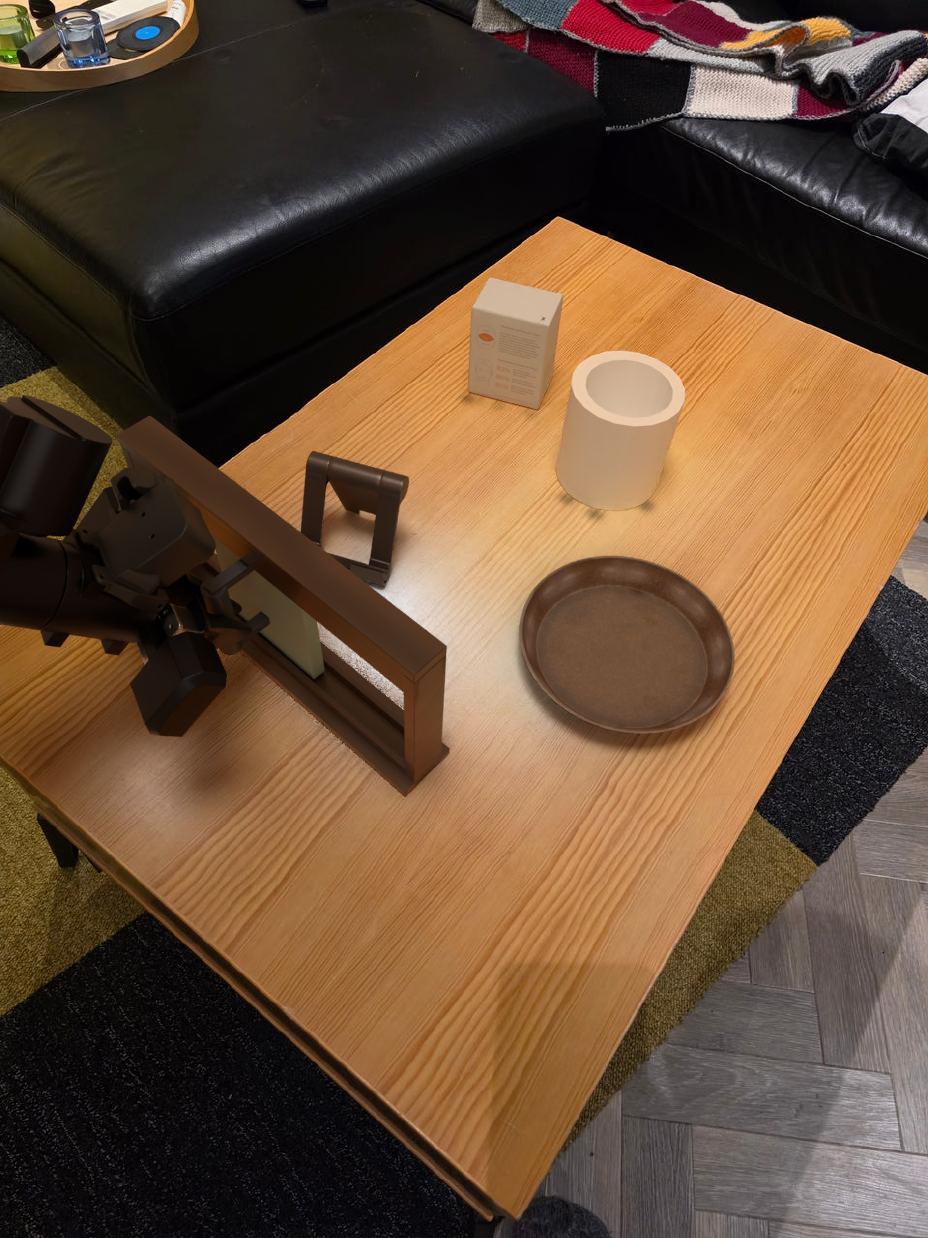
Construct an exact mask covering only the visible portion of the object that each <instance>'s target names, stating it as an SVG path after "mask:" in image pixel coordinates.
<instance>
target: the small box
mask: <svg viewBox="0 0 928 1238" xmlns="http://www.w3.org/2000/svg"><path fill="white" fill-rule="evenodd" d="M563 302H564V294H563V293H560V292H555V291H551V290H546V289H542V288H539V287H538V288H537V287H534V286H530V285H525V284H521V283H517V282H512V281H508V280H504V279H500V278H495V277H491V276H490V277H488V279H487V281H486V282H485V284H484V285H483V287H482V289H481V291H480V292H479V294H478V296H477V297H476V299H475V301H474V303H473V304H472V306H471V309H470V313H471V314H470V328H469V329H470V332H469V348H468V350H469V351H468V370H467V371H468V373H467V392H468V393H471V394H476V395H479V396H483V397H487V398H491V399H495V400H499V401H503V402H506V403H511V404H514V405H517V406H522V407H526V408H530V409H533V410H539V409H540V406H541V404H542V402H543V399H544V397H545V395H546V392H547V390H548V388H549V385H550V383H551V381H552V379H553V373H554V367H555V360H556V353H557V346H558V339H559V338H558V337H559V331H560V322H561V317H562V312H563V311H562V310H563V304H564V303H563Z"/></svg>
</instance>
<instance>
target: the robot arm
mask: <svg viewBox="0 0 928 1238" xmlns="http://www.w3.org/2000/svg"><path fill="white" fill-rule="evenodd" d="M113 442H114V440H113V438H112V437H111V436H110V435H109V434H108V433H107V431H105V430H103V429H102V428H100V427H99V426H98V425H96V424H94V423H93V422H90V421H89V420H87V419H85V418H83V417H81V416H80V415H78V414H76V413H74V412H72V411H69V410H68V409H65V408H64V407H60V406H59V405H56V404H53V403H51V402H48V401H45V400H43V399H40V398H37V397H35V396H31V395H27V394H22V396H21V397H20V396H8V397H7V399H6V401H2V400H0V626H7V627H14V628H20V629H29V630H34V631H39V632H40V635H41V638H42V641H43V644H44V645H43V646H45V647H53V648H61V647H62V646H63V645H64V643H65V642H66V640H67V639H68V638H69V637H70V636H74V637H81V638H88V639H95V640H100V642H101V645H102V648H103V651H104V654H106V655H111V656H120V655H121V654H122V653H123V652H124V650H125V649H126V648H127V647H128V646H129V644H130V643H133V644H134V643H135V644H136V647H137V650H138V653H139V654H140V656H141V660H142V663H143V666H142V667H141V669H140V670H139V671H138V672H137V674H136V675H135V676H134V677H133V679H132V680H131V681H130V682H129V685H130V688H131V691H132V693H133V697H134V699H135V702H136V704H137V706H138V707H137V708H138V709H139V712H140V715H141V718H142V721H143V723H144V725H145V728H146V729H147V732H148V733H149V735H152V736H153V735H154V736H158V737H173V738H182V737H183V736H184V735H185V734H186V733H187V732H188V731H189V729H190V728H192V726H193V725H194V724H195V723H196V722H197V721H198V720H199V718H200V717H201V716H202V715H203V714H204V713H205V711H206V710H207V709H208V708H209V707H210V706H211V705H212V703H213V702H214V701H215V700H216V699H217V698H218V696H219V695H220V694H221V693H222V692H223V691H224V690H225V689H226V686H227V680H228V672H227V670H226V668H225V666H224V663H223V661H222V659H221V656H220V655H219V653H218V649H219V648H221V647H224V646H227V645H230V644H232V643H235V642H238V641H241V640H243V639H245V638H247V637H248V635H249V634H250V633H251V632H252V628H251V626H250V625H247V624H245V623H242V622H239V621H236V620H233V619H229V618H225V617H222V616H218V615H214V614H211V613H208V612H207V609H206V606H205V603H204V600H203V597H202V594H201V591H200V587H201V584H202V583H203V582H204V581H203V580H201V579H200V578H198V577H197V576H195V575H194V574H192V573H191V572H190V570H191V569H193V568H194V567H195V566H197V565H199V564H203V563H205V562H206V561H207V560H209V559H210V558H211V556H212V555H213V553H215V552H216V550H215V548H216V543H215V540H214V538H213V536H212V535H211V534H210V532H209V530H208V528H207V526H206V524H205V522H204V520H203V518H202V513H201V511H200V510H199V509H198V508H197V507H196V506H195V505H193V504H192V503H191V502H190V501H188V500H187V499H186V498H185V497H183V496H182V495H181V494H180V493H179V491H178V489H177V487H176V484H175V483H174V480H173V479H172V478H171V477H164V478H162V477H161V476H160V475H157V476H155V475H154V474H153V473H150V472H146V471H142V470H137V469H132V468H128V467H125V468H123V469H122V470H120V471H119V472H117V473H116V474H115V475H113V476H112V477H111V478H110V480H109V481H110V486H107V487H104V488H103V489H102V490H101V492H100V494H99V495H98V496H97V498H96V499H95V501H94V502H93V503H92V505H91V506H90V507H89V509H88V511H87V512H86V513H85V515H84V517H83V518H82V519H81V520H80V522H79V523H78V525H77V522H78V520H79V518H80V516H81V513H82V511H83V508H84V507H85V504H86V502H87V500H88V498H89V496H90V493H91V491H92V489H93V487H94V484H95V482H96V480H97V478H98V476H99V473H100V471H101V469H102V468H103V464H104V462H105V461H106V458H107V455H108V453H109V451H110V449H111V447H112V445H113ZM76 525H77V526H76ZM75 526H76V528H75ZM53 537H56V538H53ZM57 537H60V538H61V537H63V538H62V539H58V538H57ZM230 599H231V598H230ZM231 603H232V606H233V610H234V613H235V617H237V616H238V614H239V613H240V612H241V611H242V607H241V605H240V604H238V603H237V602H235V601H234V600H232V599H231ZM219 650H220V649H219Z"/></svg>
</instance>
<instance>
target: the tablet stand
mask: <svg viewBox="0 0 928 1238" xmlns="http://www.w3.org/2000/svg"><path fill="white" fill-rule="evenodd" d="M304 471H305V472H304V482H303V483H304V484H303V496H302V508H301V520H300V521H301V522H300V532H301V533H302V534H303V535H305V536H306V537H307V538H308V539H310V540H311V541H312V542H314V543H315V544H316V545H317V546H319V547H320V548H321V549H322V547H321V546H322V537H323V536H322V535H323V526H324V517H325V516H324V515H325V505H326V504H325V503H326V495H327V487H328V484H329V485H331V488H332V490H333V492H334V493H335V495H336V497H337V498H338V500H339V501H340V503H341V505H342V507H343V509H344V510H345V511H347V512H350V513H354V514H357V515H360V513H361V512H364V513H368V514H371V515H374V516H375V517H374V525H373V533H372V542H371V549H370V555H369V560H368V563H364V562H362V561H358V560H355V559H352V558H347V557H344V556H341V555H336V554H333V553H331V552H327V553H328V554H329V555H330V556H332V557H333V558H334V559H336V560H337V561H338V562H339V563H341V564H342V565H343V566H345V567H346V568H347V569H348V570H350V571H351V572H352V573H354V574H355V575H356V576H357V577H359V578H360V579H361V580H363V581H364V582H368V583H371V584H374V585H379V586H380V587H381V586H382V587H385V586H386V585H387V583H388V581H389V578H390V574H391V570H392V569H391V568H392V563H393V562H392V561H393V554H394V550H395V549H394V547H395V542H396V535H397V527H398V520H399V514H400V507H401V505H402V503H403V501H404V499H405V498H406V496H407V493H408V489H409V485H410V478H409V476H408V475H404V474H400V473H397V472H393V471H390V470H386V469H383V468H378V467H375V466H371V465H367V464H364V463H360V462H357V461H353V460H349V459H345V458H342V457H338V456H334V455H330V454H327V453H323V452H320V451H316V450H312V451H311V452H310V453H309V454H308V457H307V459H306V462H305V470H304Z"/></svg>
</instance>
